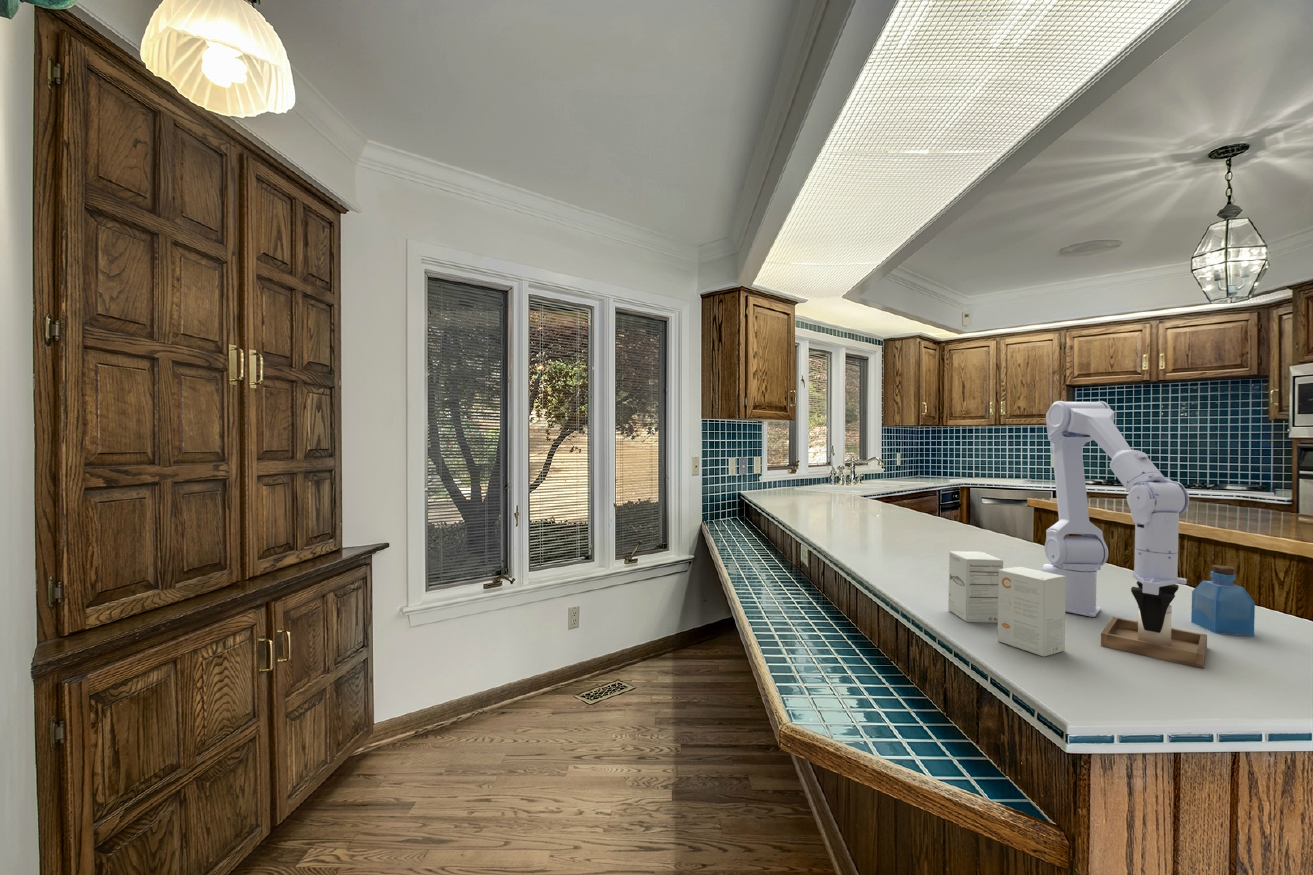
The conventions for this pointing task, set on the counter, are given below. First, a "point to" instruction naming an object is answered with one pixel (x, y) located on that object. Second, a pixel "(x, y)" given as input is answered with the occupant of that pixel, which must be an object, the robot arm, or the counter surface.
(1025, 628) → the small box
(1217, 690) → the counter surface
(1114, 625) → the walnut tray
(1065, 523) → the robot arm
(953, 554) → the supplement box
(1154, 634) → the cylinder
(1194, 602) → the perfume bottle
